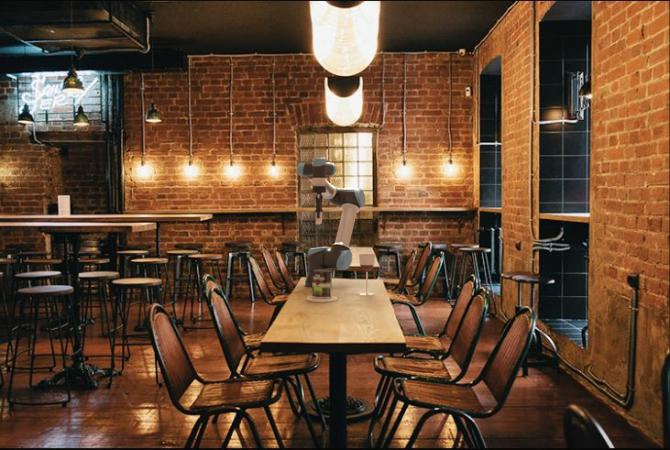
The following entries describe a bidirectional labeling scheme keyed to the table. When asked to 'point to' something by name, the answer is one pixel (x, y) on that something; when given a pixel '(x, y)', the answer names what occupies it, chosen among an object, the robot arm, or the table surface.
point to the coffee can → (322, 283)
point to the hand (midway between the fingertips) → (318, 223)
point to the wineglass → (367, 267)
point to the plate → (322, 299)
